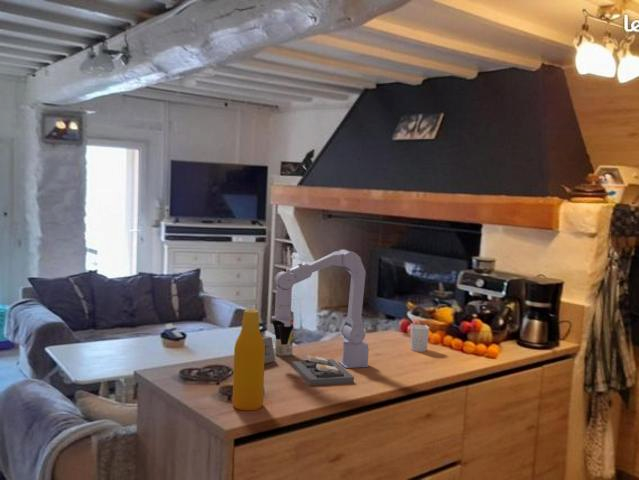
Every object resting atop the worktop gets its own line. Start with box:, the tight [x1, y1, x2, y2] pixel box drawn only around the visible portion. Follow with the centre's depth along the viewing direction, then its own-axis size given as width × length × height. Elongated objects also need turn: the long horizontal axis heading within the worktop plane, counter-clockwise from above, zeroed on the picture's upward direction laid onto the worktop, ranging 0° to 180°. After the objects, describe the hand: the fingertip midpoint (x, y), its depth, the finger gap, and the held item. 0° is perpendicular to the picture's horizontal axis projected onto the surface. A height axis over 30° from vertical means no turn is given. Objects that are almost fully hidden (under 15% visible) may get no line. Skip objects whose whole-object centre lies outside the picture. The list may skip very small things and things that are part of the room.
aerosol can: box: [274, 310, 295, 358], centre depth 236 cm, size 7×7×20 cm
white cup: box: [410, 324, 430, 353], centre depth 253 cm, size 8×8×10 cm
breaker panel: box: [291, 358, 355, 386], centre depth 214 cm, size 16×22×4 cm
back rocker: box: [306, 354, 328, 364], centre depth 219 cm, size 7×4×2 cm, turn 108°
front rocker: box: [316, 364, 339, 373], centre depth 208 cm, size 7×4×2 cm, turn 108°
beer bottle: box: [231, 309, 265, 411], centre depth 179 cm, size 9×9×29 cm
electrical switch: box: [262, 336, 276, 365], centre depth 225 cm, size 9×5×9 cm, turn 141°
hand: (281, 341), depth 217 cm, fingers open, 7 cm apart
